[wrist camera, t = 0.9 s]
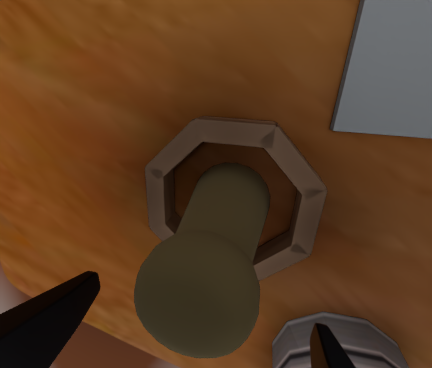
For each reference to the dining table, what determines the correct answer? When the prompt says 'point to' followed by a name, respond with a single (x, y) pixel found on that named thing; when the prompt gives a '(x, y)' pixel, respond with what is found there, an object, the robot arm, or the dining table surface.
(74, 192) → the dining table surface
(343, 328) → the can
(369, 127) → the slate mat
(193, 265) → the cork
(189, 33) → the dining table surface
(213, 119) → the walnut holder
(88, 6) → the dining table surface
